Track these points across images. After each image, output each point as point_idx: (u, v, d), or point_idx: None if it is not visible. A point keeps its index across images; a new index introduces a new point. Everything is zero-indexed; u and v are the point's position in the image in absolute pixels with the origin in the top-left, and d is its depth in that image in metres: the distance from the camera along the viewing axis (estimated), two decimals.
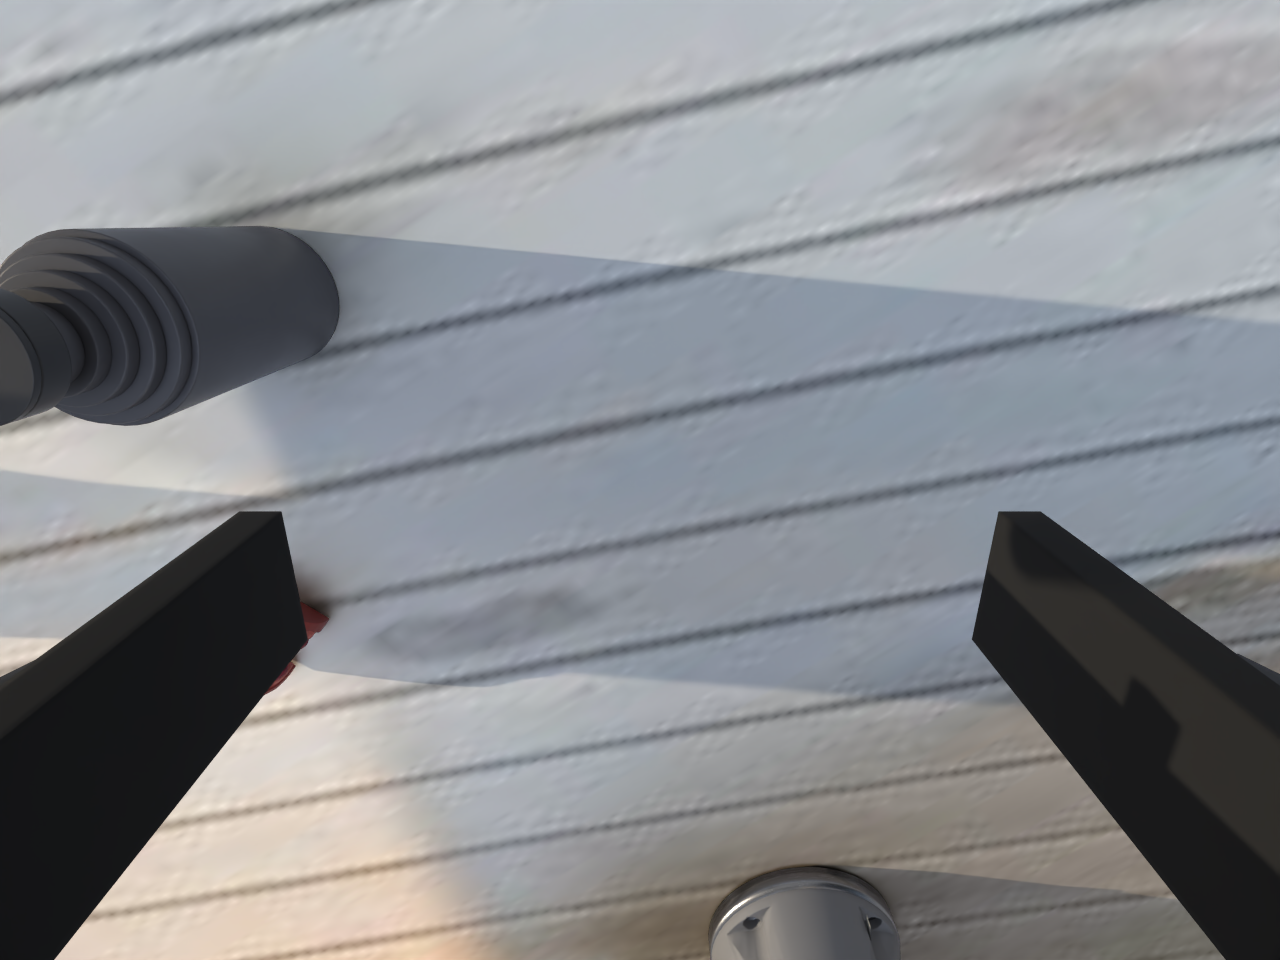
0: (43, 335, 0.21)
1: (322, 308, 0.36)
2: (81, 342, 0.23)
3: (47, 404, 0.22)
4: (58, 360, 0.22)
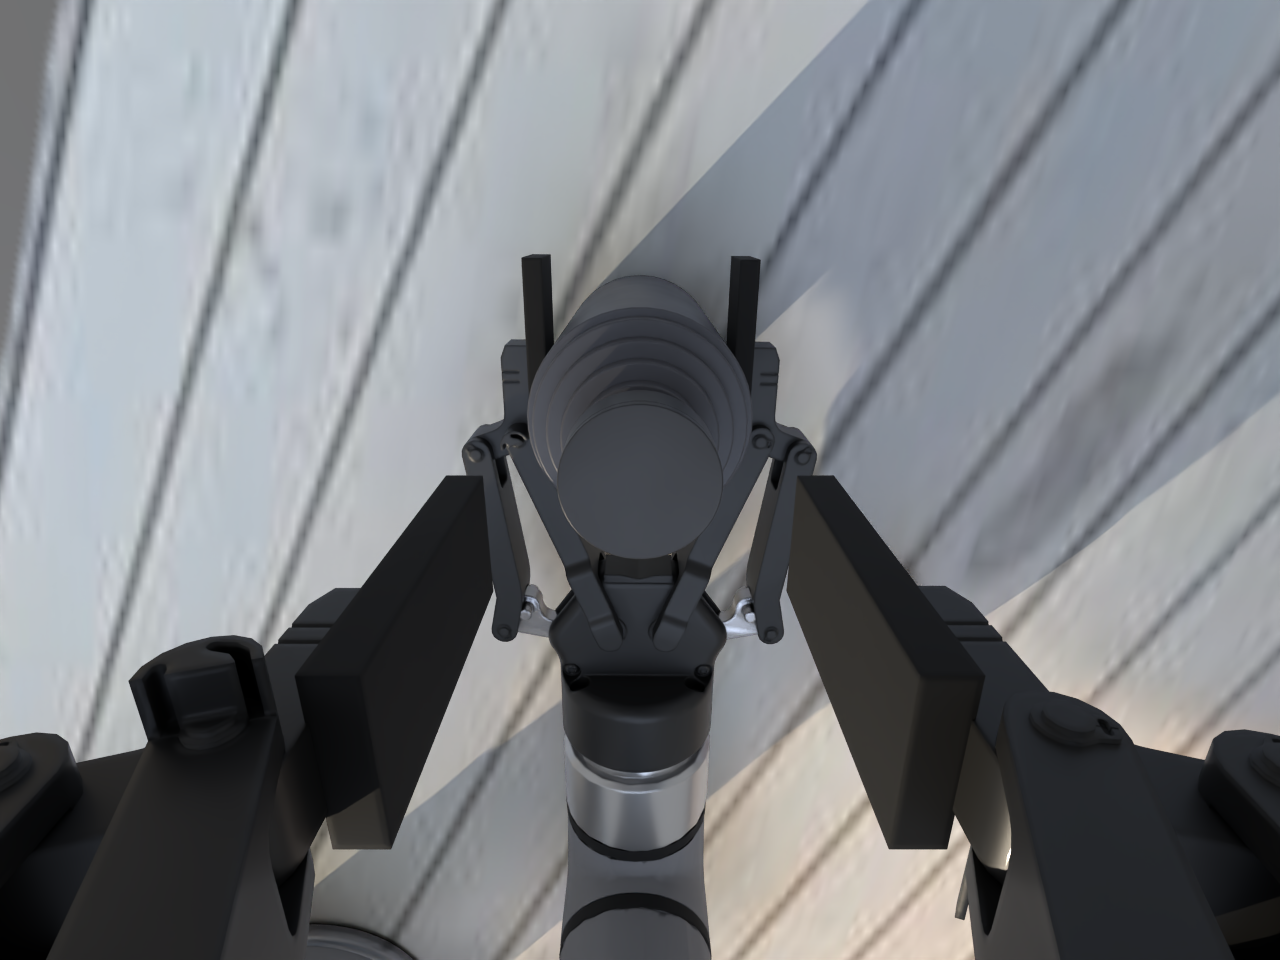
0: (670, 401, 0.17)
1: (697, 304, 0.31)
2: None
3: None
4: (697, 417, 0.17)
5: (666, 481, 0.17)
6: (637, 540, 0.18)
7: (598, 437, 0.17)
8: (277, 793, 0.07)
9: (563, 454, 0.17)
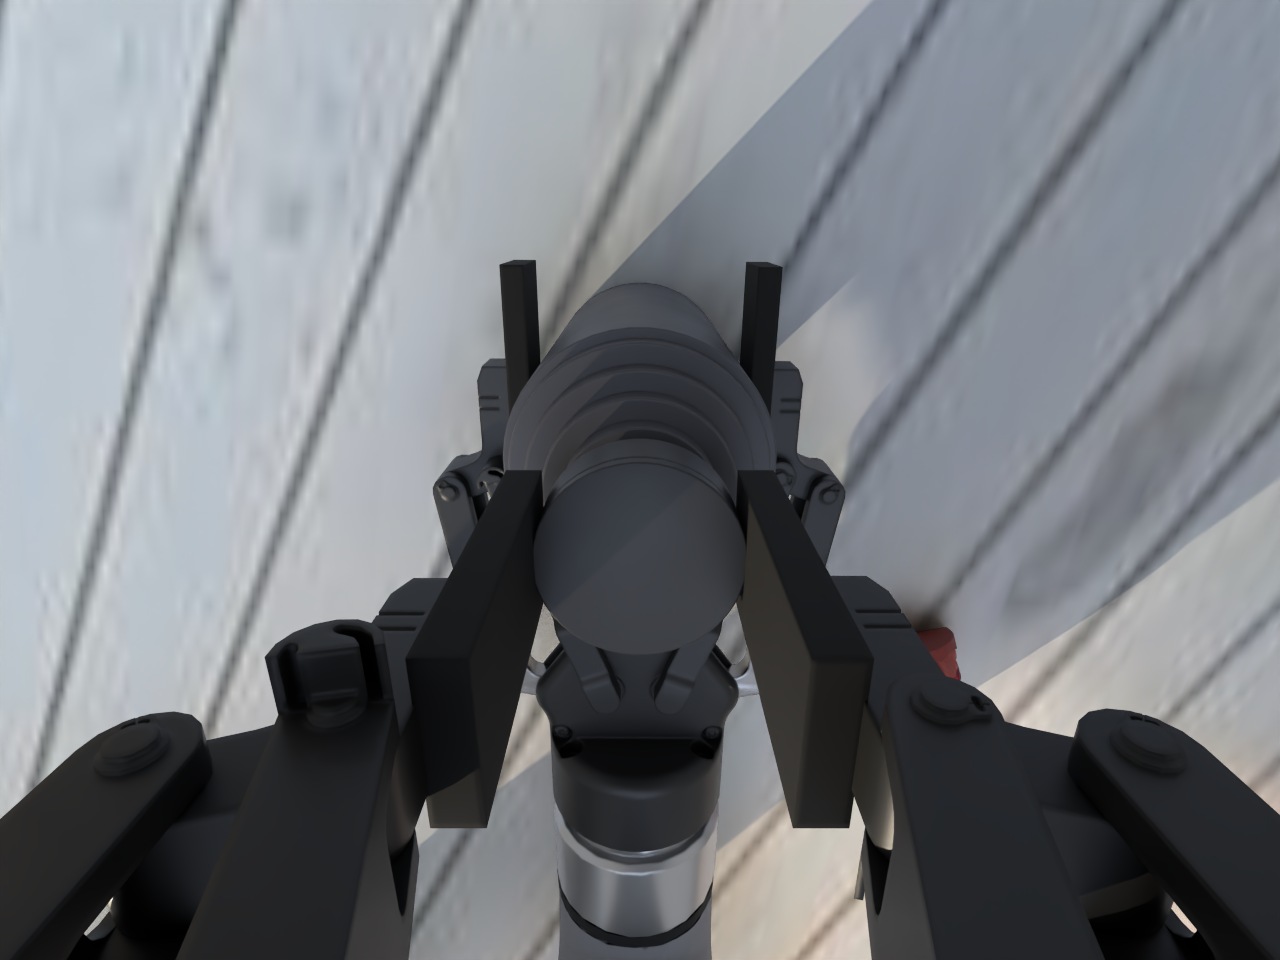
0: (679, 455, 0.13)
1: (705, 316, 0.28)
2: None
3: None
4: (713, 474, 0.13)
5: (673, 559, 0.13)
6: (636, 632, 0.14)
7: (585, 504, 0.13)
8: None
9: (539, 526, 0.13)
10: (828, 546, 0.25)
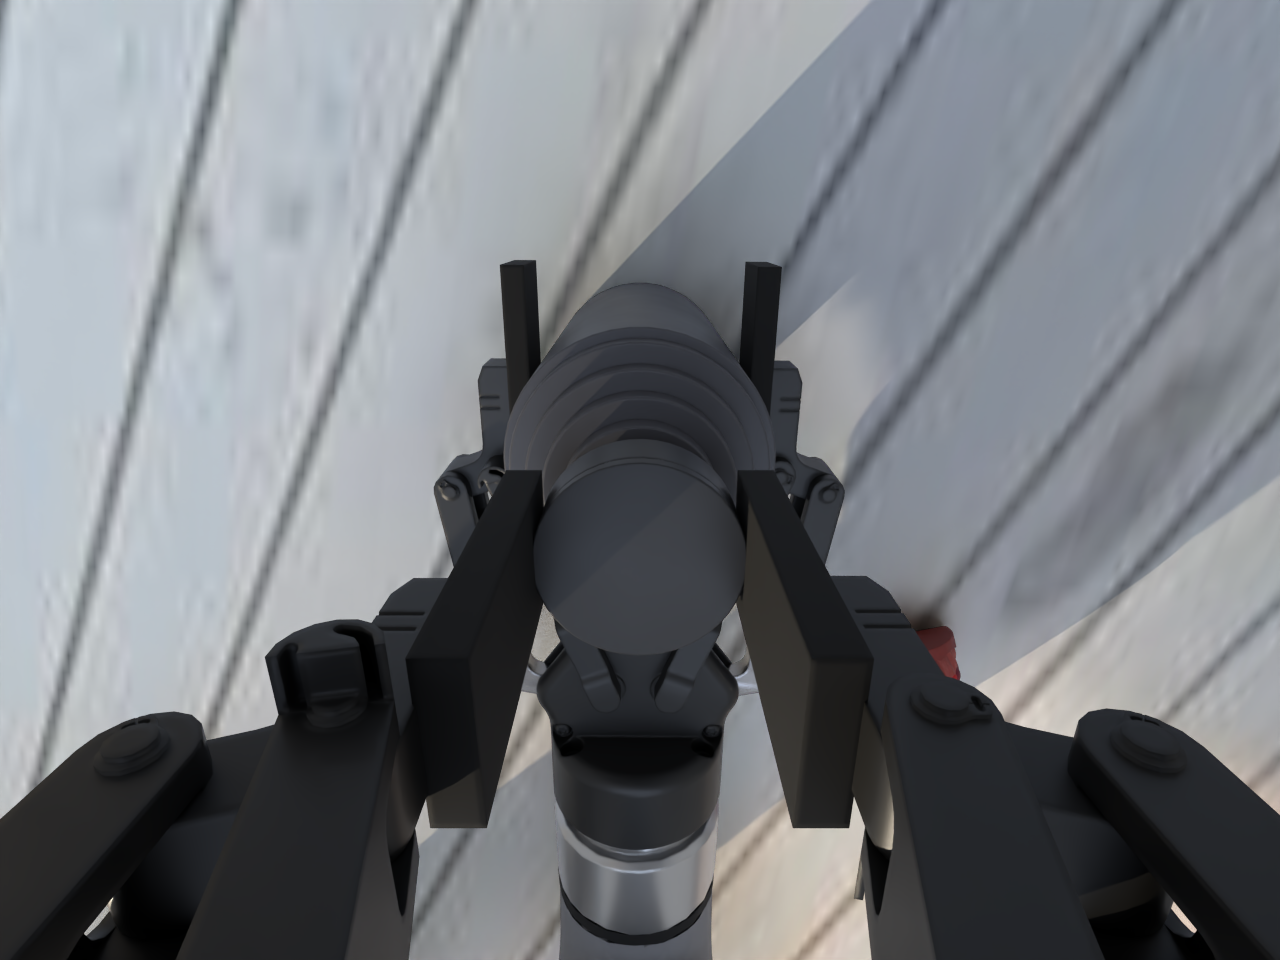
0: (547, 501, 0.14)
1: (704, 315, 0.28)
2: None
3: (648, 447, 0.13)
4: (572, 469, 0.13)
5: (637, 533, 0.13)
6: (717, 575, 0.13)
7: (571, 604, 0.13)
8: None
9: (590, 643, 0.14)
10: (827, 545, 0.25)
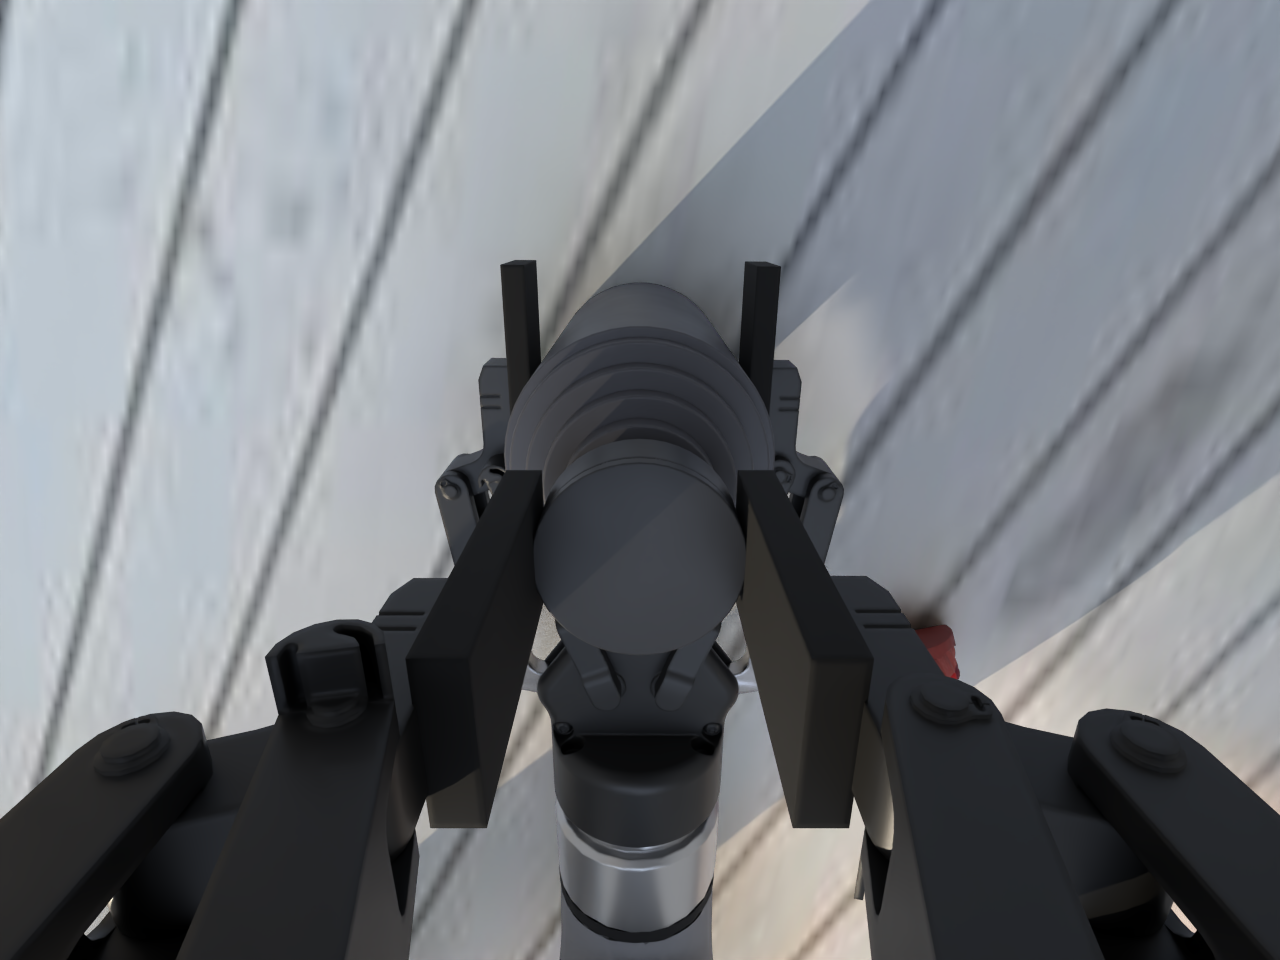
0: None
1: (704, 315, 0.28)
2: None
3: None
4: None
5: (604, 563, 0.13)
6: (658, 493, 0.13)
7: (676, 627, 0.14)
8: None
9: (724, 616, 0.14)
10: (827, 544, 0.25)
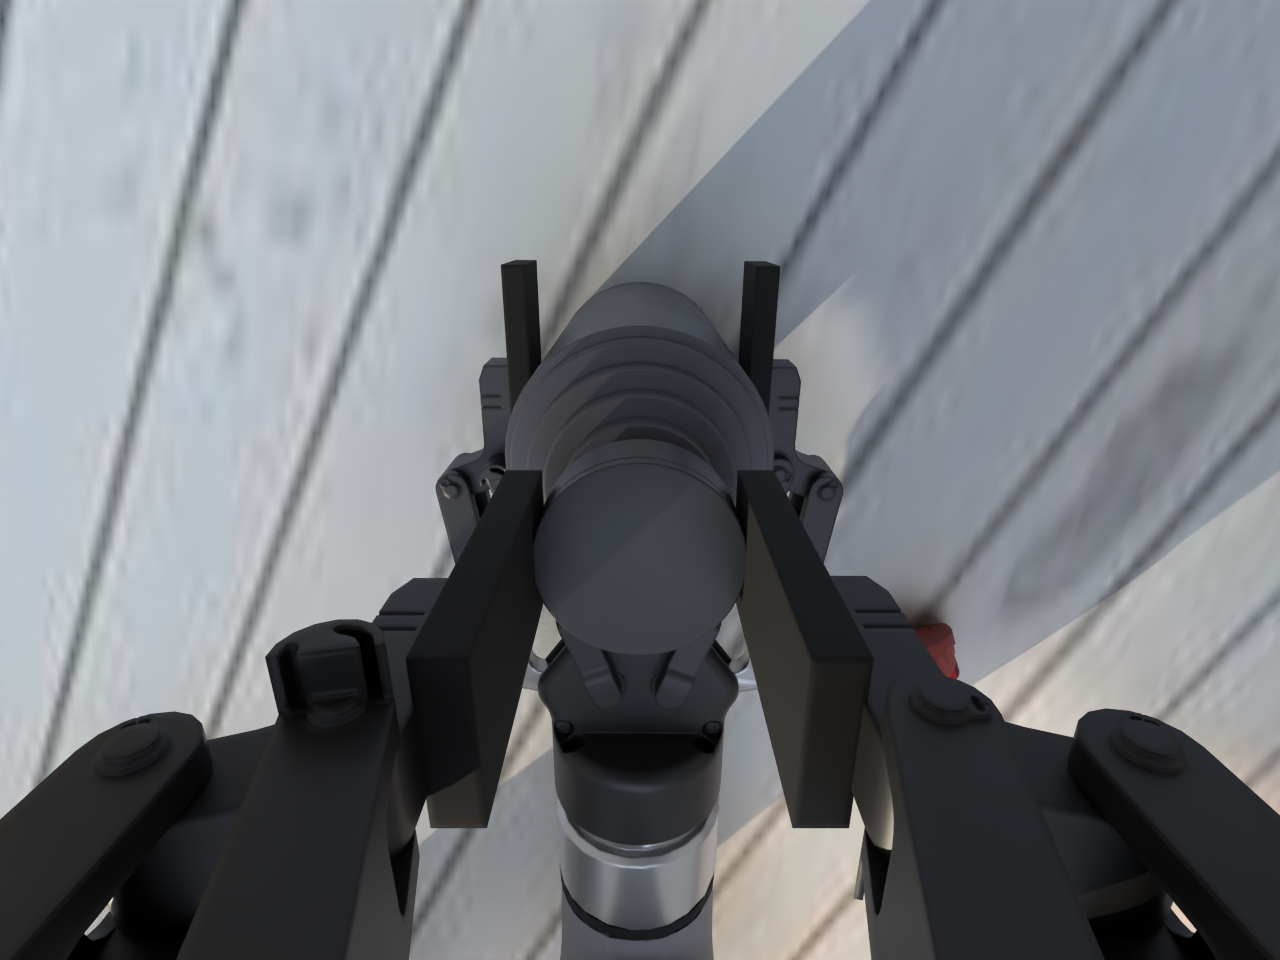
0: None
1: (704, 315, 0.28)
2: None
3: None
4: None
5: (634, 595, 0.13)
6: (563, 541, 0.13)
7: (718, 536, 0.13)
8: (391, 775, 0.08)
9: (711, 489, 0.13)
10: (826, 542, 0.25)
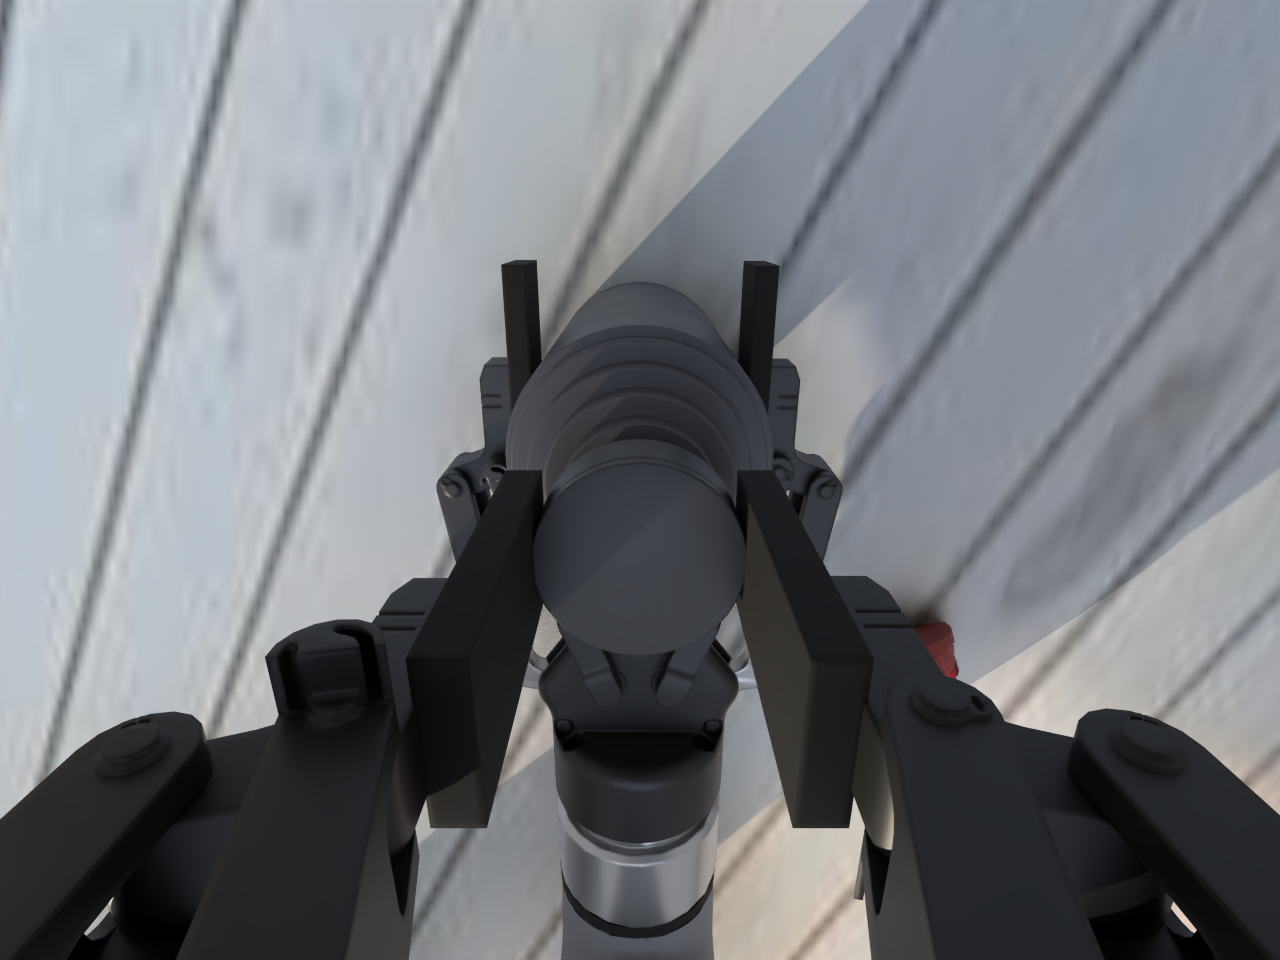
0: (713, 477, 0.13)
1: (703, 314, 0.28)
2: None
3: None
4: (734, 505, 0.14)
5: (673, 572, 0.13)
6: (607, 626, 0.14)
7: (614, 490, 0.13)
8: (391, 775, 0.08)
9: (562, 494, 0.13)
10: (826, 541, 0.25)
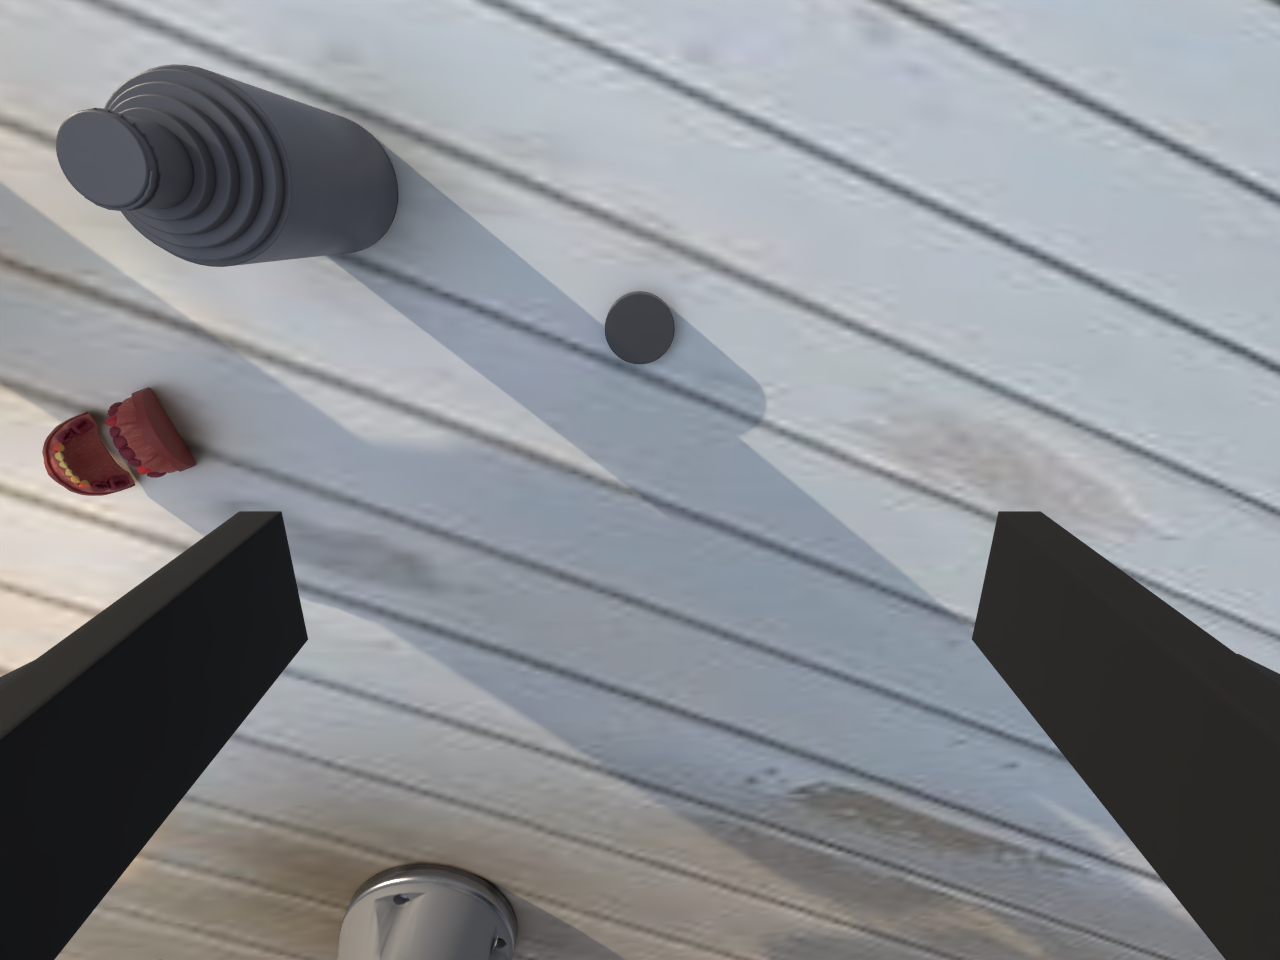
0: (617, 300, 0.41)
1: (374, 230, 0.38)
2: (191, 188, 0.25)
3: (655, 296, 0.41)
4: (629, 293, 0.41)
5: (643, 318, 0.41)
6: (661, 342, 0.41)
7: (613, 334, 0.41)
8: None
9: (613, 350, 0.41)
10: None
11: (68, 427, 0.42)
